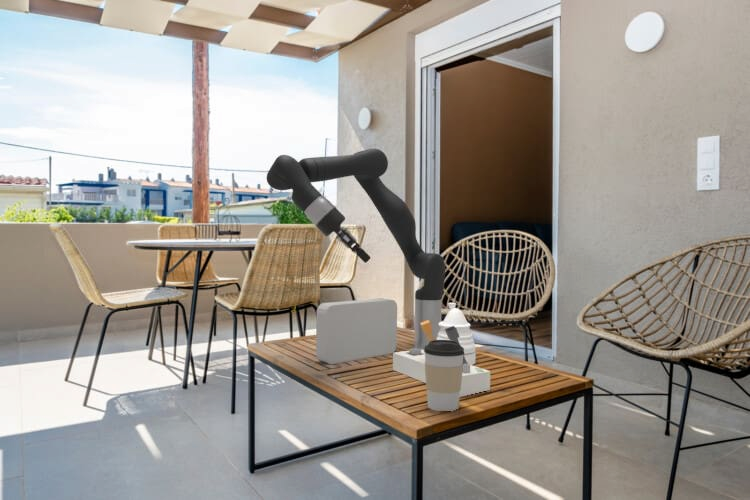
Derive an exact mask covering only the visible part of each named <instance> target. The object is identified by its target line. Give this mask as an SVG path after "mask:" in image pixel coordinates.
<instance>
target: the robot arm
mask: <svg viewBox="0 0 750 500" xmlns="http://www.w3.org/2000/svg"><path fill="white" fill-rule="evenodd" d="M388 167H389V160H388V158H387V155H386V154H385V153H384V152H383V151H382V150H380V149H378V148H368V149H364V150H360V151H357V152H355V153H353V154H348V155H335V156H333V155H331V156H318V157H317V156H315V157H306V158H302V159H300V160H299V161H298V160H297V159H295V158H294V157H292V156H291V155H288V154H281V155H278V156H277V157H276V158H275V160H274V161H273V163H272V165H271V167H270V168H269V170H267V171H268V172H267V174H266V182H267V184H268V186H269V187H271V189H274V190H278V191H287V190H292V194H291V200H292V201H293V203H294V204H295V205H296V206H297V207H298V208H299V209H300V211H302V212H303V213H304V215H305V217H307V219H308V220H309V221H310V222H311V223H312V224H313V225H314V226H315V227H316V228H317V229H318V230H319V231H320V232H321V233H322V234H323V235H324V236H325V237H329V236H331V234H333V233H335V234H336V237H335V238H336V239H337V241H339V242H340V243H342V244H343V246H345V248H347V249H350V250H351V252H352V253H353V254H356V255H357V256H358V257H359V258H360V259H361V261H363V262H364V263H368V262H369V260H370V259H371V256H370V255H369V254H368V253H367V252H366V251H365V250H364V249H363V247H362V246H361V245H360V243H358V241H357V238H355V236H354V235H353V234H352V233H351V231H350V230H349V229H348V228H347V227H345V228H343V227H342V224H343V223H344V222H345V220H346V216H344V214H342V212H341V211H340V210H339V209H337V208H336V206H335V205H334V204H333V203H332V202H331V201H330V200H328V198H326V197H325V196H324V195H323V194H321V192H320V191H319V190H318V189H317V188H316V187H315V186H314V185H313V184H312V183H317V182H326V181H330V180H335V179H340V178H347V177H352V176H353V177H354V179H355V180H356V181H357V182H358V183H359V185H360V186H361V188H362V189H363V190H364V192H365V193H366V194H367V196H368V197H369V199H370V200H371V202H372V204H373V205H374V207H375V208H376V210H377V212H378V213H379V215H380V217H381V219H382V220H383V222H384V224H385V225H386V227H387V229H388V230H389V231H390V233H391V234H392V236H393V238H394V240H395V241H396V243H397V245H398V247H399V249H400V250H401V252H402V254H403V256H404V258H405V260H406V262H407V265H408V266H409V269H410V270H411V271H410V272H411V273H412V274H413V275H414V276H415V277H416V278H418V279H419V280H420V279H422V280H423V285H422V287H421V288H419V289H417V290H415V293H414V337H413V338H414V344H413V345H414V347H413V348H419V349H422V350H425V348H424V347H425V346H426V345H428V344H429V342H430V341H429V339H428V336H427V333H424V332H423V329H422V327H421V324H420V323H422V322H424V321H427V320H429V321H430V323H431V326H432V328H433V331H431V332H432V335H433V337H434V340H436V339H437V337H438V333H439V331H440V328H441V327H440V326H439V325H438V324H439V322H442V321H443V320H442V302H443V301H442V298H443V297H442V295H443V293H444V290H445V277H446V263H445V259H444V257H443V256H442V255H440V254H439V253H434V252H432V253H431V252H425V251H424V250H423V249H422V247H421V246H420V244H419V242H418V240H417V236H416V235H417V234H416V231H417V230H416V229H417V228H416V225H417V224H416V220H415V218H414V215H413V214H412V211H411V210H410V208H409V207H408V205H407V204H406V202H405V201H404V200H403V199H402V198H400V197H399V196H398V195H397V193H395V192H393V190H390V188H388V187H387V186H386V185H385V184H384V182H383V181H382V180H381V178H380V177H382V176H383V175H384V174H385V173H386V172H387V170H388Z"/></svg>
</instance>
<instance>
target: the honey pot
mask: <svg viewBox="0 0 750 500" xmlns="http://www.w3.org/2000/svg"><path fill="white" fill-rule="evenodd" d="M447 306H448V309H450V310H449V311H448V312H447V314H446V315H445V317H444V319H443V320H441V321H442V322H439V324H438V325H439V326H440V327H441V328H440V331H439V333H438V337H437V339H436V340H450V339H449V338H448V336H447V334H446V331H445V329H446V328H449V327H452V326H454V327H455V328H456V329H457V331H458V334H459V338H457V339H458V341H459V344H460V346H462V347H463V348H464V357H465V359H466V362H467V363H468V364H470V365H472V366H474V365H475V364H476V355H477V353H476V348H477V347H476V344H475V341H474V337H473V334H472V331H471V328H470V327H471V324H470V322H468V320H467V318H466V316H465V314H464V313H463V312H462V311H461V310H460V309H459V308H458V307H456V306H457V303H455V302H448V303H447ZM451 341H452V340H451Z"/></svg>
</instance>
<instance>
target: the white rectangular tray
mask: <svg viewBox="0 0 750 500" xmlns="http://www.w3.org/2000/svg"><path fill="white" fill-rule="evenodd" d="M392 370H393V371H394V372H398V373H400V374H402V375H405V376H406V377H410V378H413V379H414V380H416V381H419V382H421V383H425V384H426V376H425V352H424V350H422V349H421V355H417V356H412V355H409V350H405V351H402V350H401V351H396V352H395V351H394V352H393V353H392ZM487 390H490V391H491V371H490V370H487V369H485V368H482V367H478V366H475V365H470V364H463V370H462V382H461V390H460V397H459V398H461V397H467V395H468V396H471V394H473V395H476V394H475V393H478V394H480V393H479V392H482V393H484V392H483V391H487ZM487 392H488V391H487Z"/></svg>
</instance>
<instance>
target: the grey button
mask: <svg viewBox="0 0 750 500" xmlns="http://www.w3.org/2000/svg"><path fill="white" fill-rule="evenodd" d="M408 351H409V355H412V356H417V355H421V349H419V348H414V347H413V348H409V349H408Z"/></svg>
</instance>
